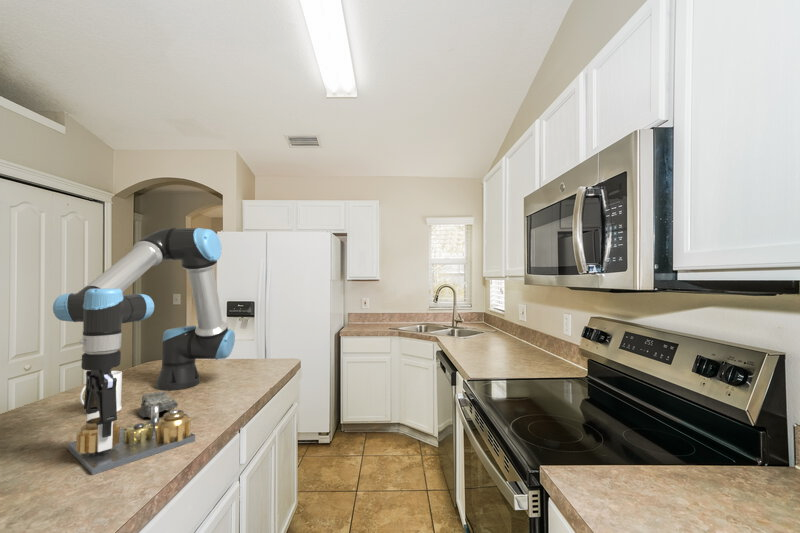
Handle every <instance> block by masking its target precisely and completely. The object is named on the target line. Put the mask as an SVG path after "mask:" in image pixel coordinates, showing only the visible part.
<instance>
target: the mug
mask: <svg viewBox="0 0 800 533" xmlns="http://www.w3.org/2000/svg"><path fill="white" fill-rule="evenodd" d="M111 374H113V378H116V379H117V383H116V404H117V412H119V411H121V410H122V409H123V408H122V407H123V406H122V385H123V384H122V383H123V372H122V371H119V370H111ZM85 390H86V384H85V385H84V386H83V387H82V388H81V391H80V393H79V402H80V403H81V404H82V405H83V406H84V399H83V396H84V393H85ZM97 412H99V411H97Z"/></svg>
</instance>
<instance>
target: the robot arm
mask: <svg viewBox="0 0 800 533" xmlns="http://www.w3.org/2000/svg"><path fill="white" fill-rule="evenodd" d="M221 256H222V243H221V240H220V238H219V236H218V234H217V233H216V232H215V231H214V230H213V229H210V228H202V227H192V228H191V227H189V228H188V227H187V228H185V227H182V228H181V227H180V228H179V227H177V228H176V227H168V228H162V229H159V230H157V231H154V232H151V233H150V234H147V235H146V236H144V237H143V238H141V239H140V240H138V241H137V242H136V243H134V245H133V246H132V250H131V251H129V252H128V253H127V254H126V255H124V256H123V257H122V258H120V259H119V260H118V261H116V262H115V263H114V264H112V266H110V267H109V268H107V269H106V270H105V271H104V272H102V273H101V274H100V275H98V276H97V277H96V278H95V279H93V280H92V281H91V282H90V283H88V284H87V285H85V286H84V287H83V288H82V289H80V290H79V291H78V292H76V293H74V292H70V293H64V294H61V295H59V296H57V297H56V299H55V300H54V302H53V305H52V312H53V314H54V316H55V317H56V319H57V320H60V321H63V322H74V323H78V322H80V323H82V322H83V324H82V325H83V329H82V339H80V340H79V344H80V345H81V344H82V352H83V353H82V354H81V369H82V370H83V371H86V373H85V376H86V381H85V385H86V389H85V390H84V399H83V401H84V405H83V409H84V410H85V414H86V422H87V421H88V420H90V419H93V418H97V417H100V422H97V423H96V425H98V440H97V452H101V451H104V450H108V449H111V448H112V437H113V421H117V420H118V414H117V413H118V411H117V404H116V383H117V379H116V378H113V374H111V371H112V369H113V368H116V367H119V366H120V365H121V359H122V358H121V354H122V351H121V350H120V349H121V348H122V339H123V338H122V336H123V334H122V326H123V324H127V323H129V324H130V323H134V322H140V321H144V320H146V319H148V318H150V317H151V316H152V315H153V313H154V311H155V303H154V301H153V299H152V298H151V296H149V295H148V294H143V293H133V294H124V293H123V292H124V291H126V290H127V289H128V288H129V287H130V286H132V285H133V283H134V282H136V281H137V280H138V279H139V278H140V277H141V276H143V275H144V274H145V273H146V272H147V271H148V270H149V269H151V267H156V266H158V265H159V264H161V263H162V262H164V261H180V262H181V267H182V268H183V269H184V270H186V271H187V273H188V279H189V285H190V289H191V295H192V300H193V304H194V311H195V315H196V320H197V325H186V326H179V327H173V328H169V329H166V330H164V332H163V333H162V341H161V342H162V344H161V345H162V347H161V349H162V350H161V368H160V370H159V374H158V376H157V379H156V381H155V388H156V389H157V390H162V391H174V390H177V391H178V390H183V389H187V388H192V387H195V386H197V385H199V384H200V383H201V382H200V380H201V378H200V374H199V371H198V369H197V365H196V360H205V359H206V360H211V359H212V360H216V361H217V360H223V359H227V358H229V357H230V355H231V354H232V352H233V349H234V346H235V343H236V342H235V340H236V335H235V334H236V333H235V331H234V330H233V329H229V328H228V323H227V322H225V321H224V320H223V317H222V312H221V306H220V298H219V294H218V287H217V282H216V274H215V269H214V268H215V266H216V265H217V263H218V260H219V259H220V258H221ZM97 411H99V412H97ZM108 416H110V417H108ZM86 422H85V423H86Z"/></svg>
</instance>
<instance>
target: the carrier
mask: <svg viewBox="0 0 800 533" xmlns="http://www.w3.org/2000/svg"><path fill="white" fill-rule="evenodd" d="M159 413H160V412H159V405H154V406H152V407H151V418H150V420H149V421H146V422H142V423H135V424H132V425H131V426H127V427H125V428H120V434H119V443H118V444H115V446H114V447H112V448H111V449H108V450H104V451H101V452H97V451H96V452H95V453H89V452H86V453H80V452H76V440H75V441H72V442H71V441H70V442H68V443H67V450H68V451H69V452H70V453H71V454H72V455H73V456H74V457H75V458H76V459H77V461H78V462H79V463H80V464H81V465H82V466H83V467H84V468H85V469H86V470H87V471H88V472H89V473H90V474H91V475H92V476H93V475H97V474H100V473H103V472H105V471H109V470H111V469H115V468H117V467H121V466H123V465H126V464H130V463H133V462H135V461H139V460H142V459H145V458H148V457H151V456H153V455H156V454H160V453H162V452H167V451H170V450H172V449H174V448H178V447H181V446H184V445H187V444H190V443H193V442H195V441H196V434H193V433H192V430H191V429H192V418H191V417H190V416H189V414H187V413H185V411H184V410H181V409H172V410H169V411H167V412H165V413H164V414H163V416H162V417H160V418H159V415H160V414H159Z"/></svg>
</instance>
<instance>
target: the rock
mask: <svg viewBox="0 0 800 533" xmlns="http://www.w3.org/2000/svg"><path fill="white" fill-rule="evenodd" d="M178 404H179V403H178V402H177V401H176V400H175V398H173V397H171V396H170V395H169V394H168V392H167V390H162V391H156V392H148V393H143V394H142V397H141V403H140V408H139V416H140V417H141V418H143V419H146V418H148V419H149V418H150V419H151V407H152V406H154V405H159V413H162V412H164V411H167V412H170V411H172V410H175V409H176V408H177V407H178Z"/></svg>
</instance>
